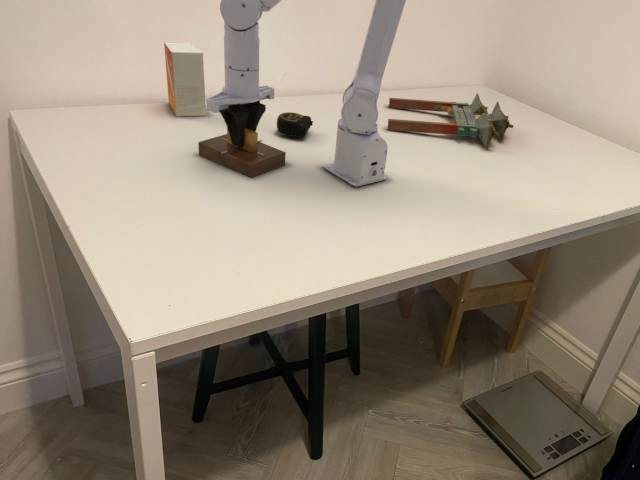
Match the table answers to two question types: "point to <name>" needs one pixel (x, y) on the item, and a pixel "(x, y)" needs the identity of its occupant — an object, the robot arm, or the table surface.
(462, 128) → the miniature gate
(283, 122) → the tape measure
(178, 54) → the small box
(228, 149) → the plate
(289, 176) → the table surface
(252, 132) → the thumb turn
